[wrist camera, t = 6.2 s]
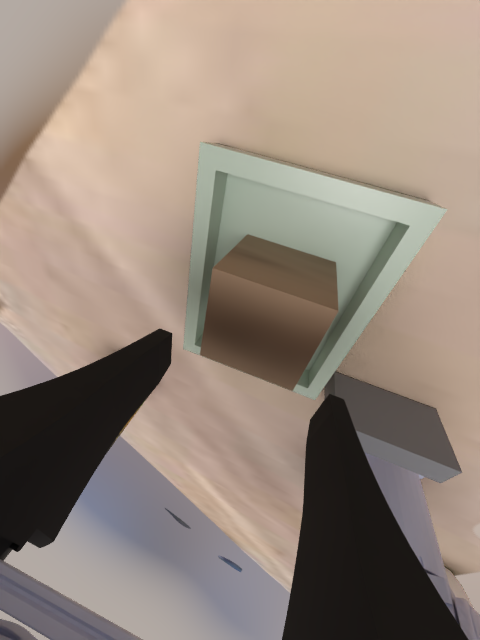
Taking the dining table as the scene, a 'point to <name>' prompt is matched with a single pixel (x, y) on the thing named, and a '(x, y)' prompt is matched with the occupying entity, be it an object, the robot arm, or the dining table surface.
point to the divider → (397, 428)
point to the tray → (304, 238)
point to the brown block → (269, 310)
